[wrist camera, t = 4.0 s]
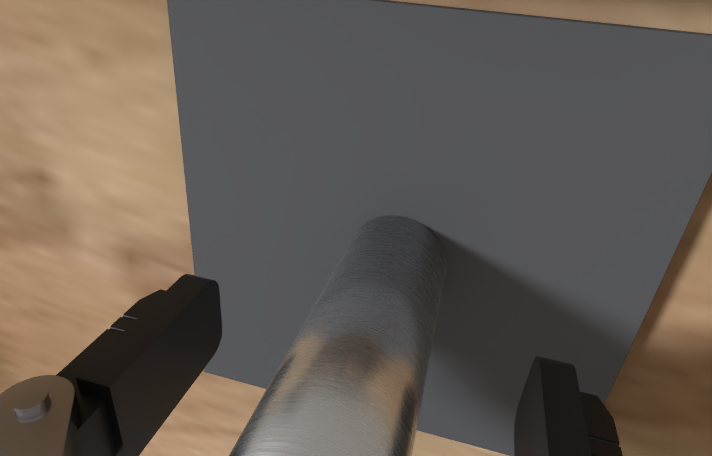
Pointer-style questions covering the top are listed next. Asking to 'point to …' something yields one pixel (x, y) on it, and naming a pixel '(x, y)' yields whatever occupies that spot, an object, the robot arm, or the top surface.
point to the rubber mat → (441, 179)
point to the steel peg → (358, 352)
